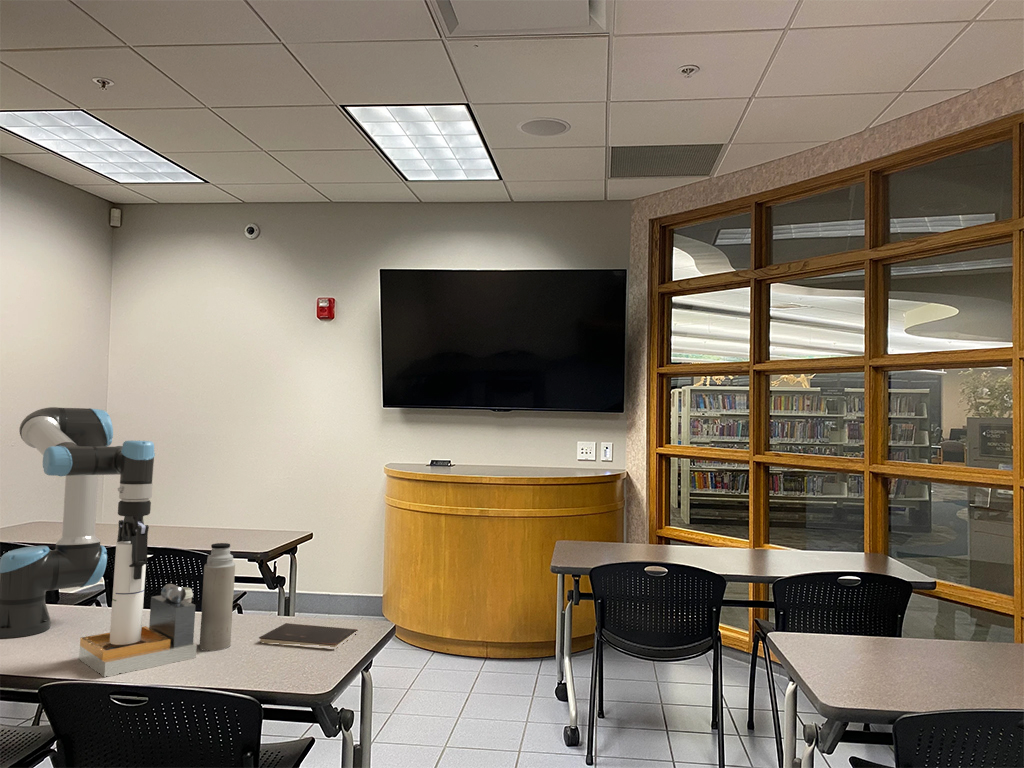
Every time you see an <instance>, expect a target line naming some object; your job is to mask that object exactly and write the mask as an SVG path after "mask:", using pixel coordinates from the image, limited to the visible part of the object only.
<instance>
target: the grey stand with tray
mask: <svg viewBox="0 0 1024 768" xmlns="http://www.w3.org/2000/svg"><path fill="white" fill-rule="evenodd" d="M181 587H182V586H181ZM181 587H180V586H178V585H176V584H173V583H167V584H165V585H163V587H162V589H161V591H160V595H155V596H151V597H150V607H149V608H150V609H149V624H148V625H149V627H148V626H146V625H145V626H142V631H141V640H140V641H138V642H136V643H131V644H125V645H115V644H111V643H110V632H105V633H100V634H99V633H98V634H95V635H89V636H82V637H80V639H79V652H78V653H79V654H78V660H79V661H80V660H81V662H82V663H83V662H84V663H83V664H85V665H86V664H87V665H88V667H89V666H90V667H91V668H90V667H89V668H90V669H92V668H93V669H94V670H95V671H94V670H93V669H92V670H93V671H94V672H96V671H97V672H98V673H97V672H96V673H97V674H99V673H100V674H101V675H102V676H101V675H100V674H99V675H100V676H101V677H103V676H104V677H103V678H107V677H106V676H109V677H111V676H110V675H114V676H117V675H116V674H118V675H120V674H119V673H123V674H126V673H125V672H128V673H131V672H130V671H132V672H136V671H135V670H137V671H141V670H145V669H149V668H154V667H159V666H164V665H169V664H173V663H177V662H182V661H186V660H187V659H188V660H192V659H196V658H197V646H198V644H197V643H196V642H194V636H195V619H196V607H197V606H196V604H194V603H192V602H191V603H190V602H187V601H185V600H184V598H185V596H186V592H185V590H184V589H183V588H181ZM87 665H86V666H87Z"/></svg>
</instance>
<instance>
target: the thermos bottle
mask: <svg viewBox="0 0 1024 768" xmlns="http://www.w3.org/2000/svg"><path fill="white" fill-rule="evenodd" d="M210 545H211V552H210V554H209V555H207V560H206V563H205V564H204V566H203V580H202V596H201V597H202V600H201V615H200V616H201V617H200V618H201V619H200V629H199V630H200V631H199V632H200V633H199V649H200V650H202V649H203V650H202V651H208V650H214V651H220V650H221V649H222V650H224V648H225V649H227V647H228V648H229V646H230V647H231V643H232V627H233V625H232V624H233V603H234V593H235V592H234V589H235V578H236V577H235V575H236V573H235V572H236V563H235V562H233V561H234V555H233V554H231V548H230V547H231V544H230V543H227V542H226V543H225V542H217V543H213V544H210Z"/></svg>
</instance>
